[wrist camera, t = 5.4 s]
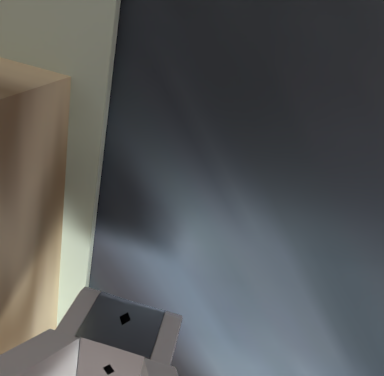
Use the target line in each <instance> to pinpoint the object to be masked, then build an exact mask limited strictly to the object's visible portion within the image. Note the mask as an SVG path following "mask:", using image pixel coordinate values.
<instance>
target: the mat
mask: <svg viewBox="0 0 384 376" xmlns="http://www.w3.org/2000/svg"><path fill="white" fill-rule="evenodd" d="M120 4H121V0H0V57H2V58H5V59H9V60H13V61H16V62H20V63H24V64H27V65H31V66H35V67H38V68H42V69H46V70H49V71H53V72H57V73H60V74H64V75H68V76H71V89H70V106H69V123H68V141H67V158H66V175H65V192H64V209H63V226H62V243H61V260H60V277H59V294H58V311H57V326H58V324H59V323H60V321H61V320H62V318H63V317H64V315H65V314H66V312H67V311H68V309H69V308H70V306H71V305H72V303H73V302H74V300H75V298H76V297H77V295H78V294H79V292H80V291H81V290H82V289H83V288H84V287H85V286H86V287H89V278H90V270H91V261H92V252H93V243H94V234H95V225H96V216H97V208H98V199H99V190H100V181H101V172H102V163H103V154H104V146H105V137H106V128H107V119H108V110H109V101H110V92H111V84H112V75H113V66H114V57H115V48H116V39H117V30H118V22H119V13H120Z"/></svg>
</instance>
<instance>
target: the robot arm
mask: <svg viewBox="0 0 384 376" xmlns="http://www.w3.org/2000/svg"><path fill="white" fill-rule="evenodd" d="M181 322H182V315H178V314H175V313H171V312H168V311H166V312H165V310H162V309H158V308H155V307H151V306H148V305H144V304H141V303H137V302H132V301H129V300H126V299H123V298H120V297H117V296H114V295H111V294H108V293H105V292H101V291H98V290H95V289H92V288H89V287H86V286H85V287H84V288H83V289H82V290H81V291H80V292H79V294H78V295H77V297H76V298H75V300H74V302H73V303H72V305H71V306H70V308H69V309H68V311H67V312H66V314H65V315H64V317H63V318H62V320H61V321H60V323H59V324H58V326H57V328H56V329H55V330H53V329H48V330H46V331H44V332H43V333H41V334H39V335H37V336H35V337H33V338H31V339H29V340H27V341H26V342H24V343H22V344H20V345H18V346H16V347H14V348H12V349H10V350H9V351H7V352H5V353H3V354H1V355H0V376H178V373H177V370H176V367H173V366H170V365H171V362H172V358H173V354H174V350H175V346H176V342H177V338H178V334H179V330H180V326H181Z"/></svg>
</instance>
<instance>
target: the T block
mask: <svg viewBox="0 0 384 376" xmlns="http://www.w3.org/2000/svg"><path fill="white" fill-rule="evenodd" d="M70 89H71V76H68V75H64V74H60V73H57V72H53V71H49V70H46V69H42V68H38V67H35V66H31V65H27V64H24V63H20V62H16V61H13V60H9V59H5V58H2V57H0V355H1V354H3V353H5V352H7V351H9V350H10V349H12V348H14V347H16V346H18V345H20V344H22V343H24V342H26V341H27V340H29V339H31V338H33V337H35V336H37V335H39V334H41V333H43V332H44V331H46V330H48V329H53V330H55V329H56V328H57V311H58V294H59V277H60V260H61V243H62V226H63V209H64V192H65V175H66V158H67V141H68V123H69V106H70Z"/></svg>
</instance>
